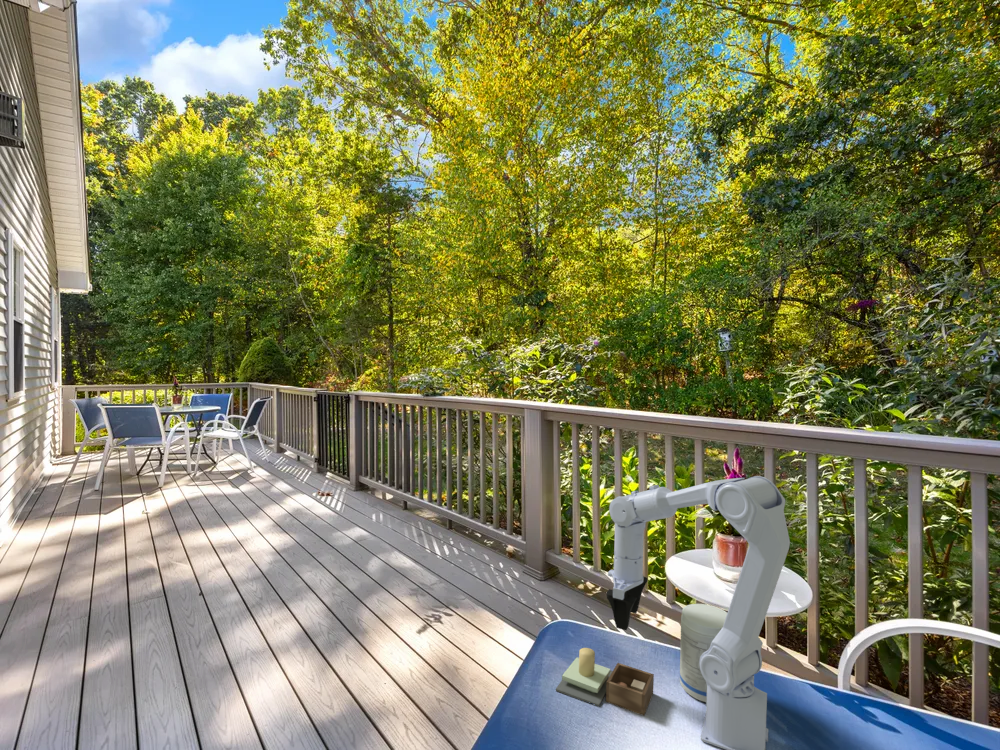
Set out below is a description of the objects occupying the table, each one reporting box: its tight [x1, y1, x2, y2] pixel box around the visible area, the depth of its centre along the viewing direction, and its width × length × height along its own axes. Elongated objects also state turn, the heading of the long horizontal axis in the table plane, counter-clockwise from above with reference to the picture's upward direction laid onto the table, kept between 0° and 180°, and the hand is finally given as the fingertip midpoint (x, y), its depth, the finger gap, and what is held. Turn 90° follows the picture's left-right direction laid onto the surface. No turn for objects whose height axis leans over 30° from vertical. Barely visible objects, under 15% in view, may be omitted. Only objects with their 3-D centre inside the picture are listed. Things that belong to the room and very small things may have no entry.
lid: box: [561, 647, 611, 693], centre depth 98 cm, size 7×7×6 cm
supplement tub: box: [679, 603, 728, 703], centre depth 96 cm, size 10×10×15 cm
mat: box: [555, 670, 613, 707], centre depth 98 cm, size 8×11×1 cm
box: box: [605, 662, 655, 717], centre depth 94 cm, size 7×7×4 cm
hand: (626, 619), depth 102 cm, fingers open, 7 cm apart
